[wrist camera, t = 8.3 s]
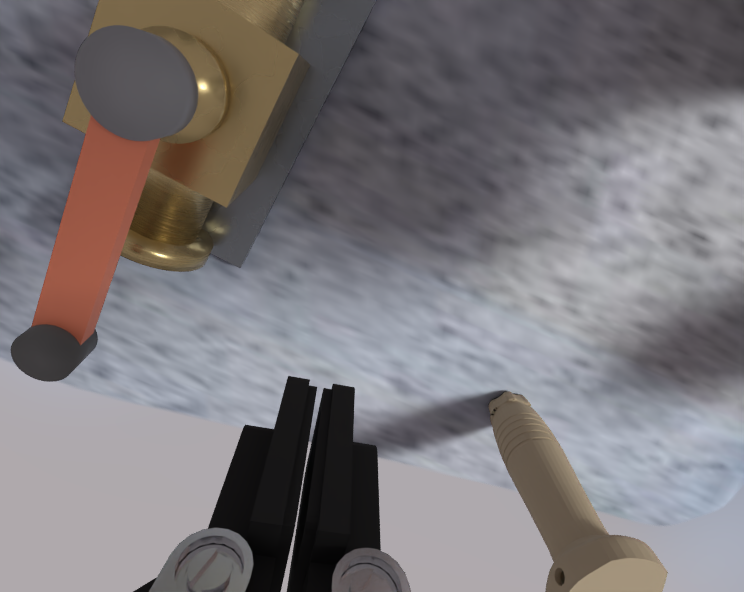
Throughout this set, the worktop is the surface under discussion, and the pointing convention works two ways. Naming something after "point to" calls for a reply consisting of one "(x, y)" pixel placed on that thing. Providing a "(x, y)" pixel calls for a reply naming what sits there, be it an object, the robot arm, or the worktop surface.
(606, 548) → the handle
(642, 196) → the worktop surface
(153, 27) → the valve
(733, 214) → the worktop surface
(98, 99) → the lever
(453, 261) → the worktop surface
